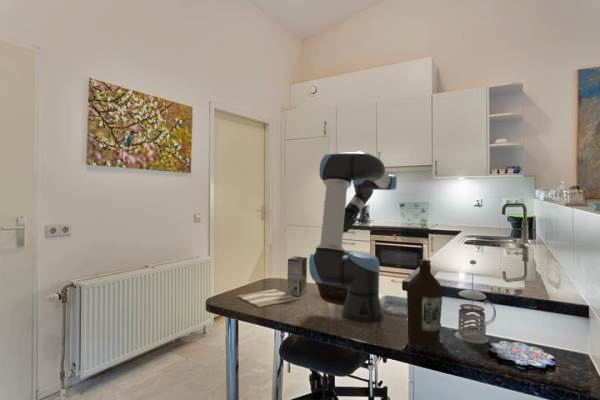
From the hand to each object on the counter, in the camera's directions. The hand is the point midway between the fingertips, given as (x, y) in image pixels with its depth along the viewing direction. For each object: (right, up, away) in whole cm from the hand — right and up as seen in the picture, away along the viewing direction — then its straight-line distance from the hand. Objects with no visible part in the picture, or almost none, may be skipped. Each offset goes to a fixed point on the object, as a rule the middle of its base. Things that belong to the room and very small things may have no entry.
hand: (330, 240), depth 173 cm
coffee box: (-17, -23, -13) cm, 31 cm away
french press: (+41, -24, -62) cm, 78 cm away
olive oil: (+23, -24, -64) cm, 72 cm away
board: (-30, -22, -23) cm, 44 cm away
